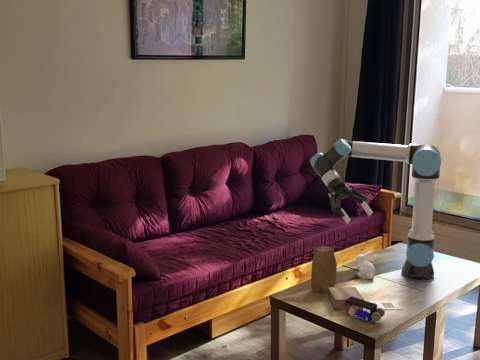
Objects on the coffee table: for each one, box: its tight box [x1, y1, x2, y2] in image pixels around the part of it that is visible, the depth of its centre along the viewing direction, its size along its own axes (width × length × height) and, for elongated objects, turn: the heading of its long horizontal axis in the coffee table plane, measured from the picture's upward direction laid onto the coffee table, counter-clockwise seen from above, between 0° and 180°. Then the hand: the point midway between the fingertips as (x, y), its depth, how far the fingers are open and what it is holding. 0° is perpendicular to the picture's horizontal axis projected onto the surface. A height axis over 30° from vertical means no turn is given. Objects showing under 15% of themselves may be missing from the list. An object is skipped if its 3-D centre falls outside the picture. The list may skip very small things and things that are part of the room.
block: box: [310, 245, 338, 294], centre depth 260 cm, size 11×8×20 cm
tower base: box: [327, 286, 364, 312], centre depth 247 cm, size 12×13×5 cm
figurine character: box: [344, 296, 386, 325], centre depth 234 cm, size 7×8×15 cm
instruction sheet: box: [365, 300, 402, 311], centre depth 247 cm, size 15×8×1 cm, turn 94°
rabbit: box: [355, 249, 376, 280], centre depth 278 cm, size 12×9×12 cm
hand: (360, 218), depth 259 cm, fingers open, 13 cm apart
